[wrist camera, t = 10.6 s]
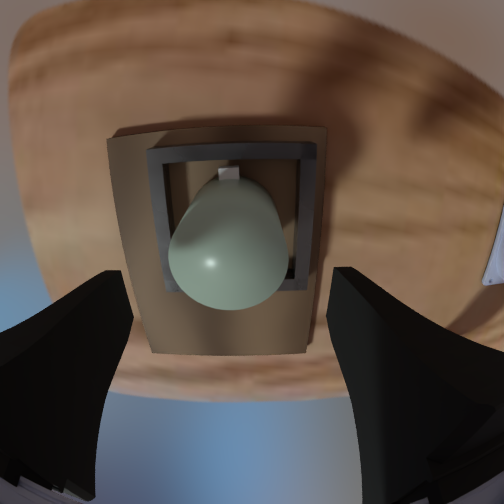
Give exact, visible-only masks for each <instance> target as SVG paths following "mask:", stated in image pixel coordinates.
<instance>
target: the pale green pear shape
mask: <svg viewBox="0 0 504 504" xmlns="http://www.w3.org/2000/svg"><path fill="white" fill-rule="evenodd" d="M218 173H219V177H218V178H216V179H213V180H211V181H210V182H208V183H207V184H205V185H204V186H203V187H202V188H201V189H200V190H199V191H198V193H197V194H196V195H195V197H194V199H193V201H192V202H191V204H190V206H189V207H188V209H187V211H186V213H185V214H184V216H183V218H182V220H181V221H180V223H179V225H178V227H177V229H176V230H175V232H174V234H173V236H172V239H171V242H170V245H169V252H168V259H169V266H170V269H171V272H172V275H173V277H174V279H175V281H176V282H177V284H178V285H179V287H180V288H181V289H182V290H183V291H184V292H185V293H186V294H187V295H188V296H190V297H191V298H192V299H194V300H195V301H197V302H199V303H201V304H203V305H205V306H208V307H211V308H215V309H221V310H240V309H245V308H249V307H252V306H255V305H257V304H259V303H261V302H263V301H265V300H266V299H267V298H269V297H270V296H271V295H272V294H273V293H274V292H275V291H276V290H277V289H278V288H279V287H280V285H281V283H282V282H283V280H284V278H285V275H286V273H287V269H288V261H289V257H288V249H287V244H286V241H285V237H284V234H283V230H282V227H281V223H280V220H279V216H278V213H277V209H276V206H275V203H274V201H273V199H272V197H271V195H270V194H269V192H268V191H267V190H266V189H265V188H264V187H263V186H262V185H261V184H259V183H258V182H256V181H255V180H253V179H250V178H248V177H244V176H239V165H236V166H220V167H219V168H218Z"/></svg>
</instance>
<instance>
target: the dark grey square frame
mask: <svg viewBox="0 0 504 504" xmlns="http://www.w3.org/2000/svg"><path fill="white" fill-rule="evenodd" d="M146 157H147V167H148V177H149V186H150V194H151V202H152V210H153V217H154V224H155V231H156V237H157V243H158V249H159V255H160V261H161V267H162V272H163V277H164V282H165V288H166V292H184V291H183V290H182V289H181V288H180V287H179V285H178V284H177V282H176V281H175V279H174V277H173V275H172V272H171V269H170V266H169V259H168V252H169V245H170V242H171V239H172V236H173V234H174V232H175V223H174V214H173V205H172V196H171V186H170V175H169V163H177V162H191V161H209V160H235V159H297V163H296V196H295V220H294V241H293V259H292V269H287V273H286V275H285V278H284V280H283V282H282V283H281V285H280V287H279V288H278V289H277V290H276V291H297V290H307V286H308V276H309V266H310V255H311V243H312V231H313V217H314V202H315V184H316V162H317V144H316V143H314V142H310V141H223V142H203V143H188V144H176V145H165V146H155V147H151V148H149V149H146Z"/></svg>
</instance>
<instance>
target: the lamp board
mask: <svg viewBox="0 0 504 504" xmlns="http://www.w3.org/2000/svg"><path fill="white" fill-rule="evenodd" d="M223 141H310V142H314V143H316V144H317V162H316V184H315V202H314V217H313V231H312V243H311V255H310V266H309V276H308V286H307V290H297V291H275V292H274V293H273V294H272V295H271V296H270V297H269V298H267V299H266V300H265V301H263V302H261V303H259V304H257V305H255V306H252V307H249V308H245V309H240V310H221V309H215V308H211V307H208V306H205V305H203V304H201V303H199V302H197V301H195V300H194V299H192V298H191V297H190V296H188V295H187V294H186V293H185V292H166V288H165V282H164V277H163V272H162V267H161V261H160V255H159V249H158V243H157V237H156V231H155V224H154V217H153V210H152V202H151V194H150V186H149V177H148V167H147V157H146V149H149V148H151V147H155V146H165V145H176V144H188V143H203V142H223ZM326 144H327V128H326V127H314V126H289V125H239V126H214V127H198V128H185V129H174V130H165V131H156V132H148V133H140V134H133V135H126V136H120V137H114V138H109V139H107V150H108V159H109V167H110V175H111V182H112V189H113V196H114V202H115V208H116V214H117V219H118V225H119V230H120V235H121V240H122V245H123V249H124V254H125V258H126V263H127V267H128V271H129V275H130V279H131V283H132V287H133V291H134V295H135V298H136V302H137V305H138V309H139V312H140V316H141V319H142V323H143V326H144V329H145V332H146V335H147V339H148V342H149V345H150V348H151V351H152V353H160V354H179V355H212V356H246V355H280V354H299V353H306V349H307V342H308V336H309V329H310V322H311V315H312V308H313V300H314V292H315V284H316V276H317V267H318V257H319V247H320V237H321V226H322V213H323V200H324V185H325V167H326ZM296 163H297V159H235V160H209V161H191V162H177V163H169V175H170V186H171V196H172V205H173V214H174V223H175V230H176V229H177V227H178V225H179V223H180V221H181V220H182V218H183V216H184V214H185V213H186V211H187V209H188V207H189V206H190V204H191V202H192V201H193V199H194V197H195V195H196V194H197V193H198V191H199V190H200V189H201V188H202V187H203V186H204V185H205V184H207V183H208V182H210V181H211V180H213V179H216V178H218V177H219V173H218V168H219V167H220V166H236V165H239V176H244V177H248V178H250V179H253V180H255V181H256V182H258V183H259V184H261V185H262V186H263V187H264V188H265V189H266V190H267V191H268V192H269V194H270V195H271V197H272V199H273V201H274V203H275V206H276V209H277V213H278V216H279V220H280V223H281V227H282V230H283V234H284V237H285V241H286V244H287V249H288V257H289V261H288V269H292V259H293V241H294V220H295V196H296Z"/></svg>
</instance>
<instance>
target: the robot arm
mask: <svg viewBox="0 0 504 504" xmlns="http://www.w3.org/2000/svg"><path fill="white" fill-rule="evenodd" d="M482 283H483V284H484V285H485V286H487V285H494V284H500V283H504V207H503V211H502V216H501V220H500V224H499V228H498V231H497V235H496V239H495V242H494V246H493V249H492V252H491V255H490V259H489V262H488V265H487V268H486V270H485V273H484V276H483V279H482ZM133 318H134V316H133V312H132V309H131V306H130V302H129V299H128V295H127V292H126V288H125V285H124V281H123V277H122V273H121V270H106V271H104V272H101V273H100V274H98V275H96V276H94V277H93V278H91V279H89V280H88V281H86V282H85V283H83V284H82V285H80V286H79V287H77V288H76V289H74V290H73V291H71V292H70V293H68V294H67V295H65V296H64V297H62V298H61V299H59V300H57V301H56V302H54V303H53V304H51V305H50V306H48V307H47V308H45V309H43V310H42V311H40V312H39V313H37V314H35V315H34V316H32V317H30V318H29V319H27V320H25V321H23V322H21V323H19V324H17V325H16V326H14V327H12V328H9V329H7V330H5V331H3V332H1V333H0V504H82V503H79V502H77V501H74V500H71V499H69V498H66V497H64V496H62V495H59V494H57V493H55V492H53V491H51V490H52V489H53V490H55V491H58V492H60V493H63V492H64V493H66V494H68V495H71V496H74V497H76V498H79V499H81V500H84V501H91V500H93V499H94V498H95V462H96V449H97V441H98V434H99V428H100V421H101V417H102V412H103V408H104V403H105V399H106V396H107V393H108V390H109V387H110V384H111V382H112V379H113V376H114V374H115V371H116V369H117V366H118V364H119V361H120V359H121V356H122V354H123V351H124V349H125V346H126V344H127V341H128V338H129V334H130V331H131V326H132V322H133ZM326 318H327V323H328V328H329V333H330V337H331V341H332V344H333V347H334V350H335V353H336V356H337V359H338V362H339V365H340V368H341V371H342V374H343V377H344V380H345V383H346V386H347V389H348V392H349V395H350V399H351V403H352V407H353V412H354V418H355V424H356V429H357V437H358V444H359V451H360V461H361V473H362V496H363V497H362V498H363V501H362V504H504V352H502V351H499V350H496V349H493V348H490V347H487V346H484V345H481V344H479V343H476V342H474V341H471V340H469V339H467V338H464V337H462V336H460V335H458V334H455V333H453V332H451V331H449V330H447V329H445V328H443V327H442V326H440V325H438V324H436V323H434V322H432V321H431V320H429V319H427V318H425V317H424V316H422V315H420V314H419V313H417V312H416V311H414V310H413V309H411V308H410V307H408V306H406V305H405V304H403V303H402V302H401V301H399V300H398V299H396V298H395V297H393V296H392V295H391V294H389V293H388V292H386V291H385V290H384V289H382V288H381V287H380V286H378V285H377V284H375V283H374V282H373V281H371V280H370V279H369V278H367V277H366V276H364V275H363V274H362V273H360V272H359V271H357V270H356V269H354V268H352V267H334V269H333V276H332V283H331V289H330V296H329V302H328V308H327V314H326Z"/></svg>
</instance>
